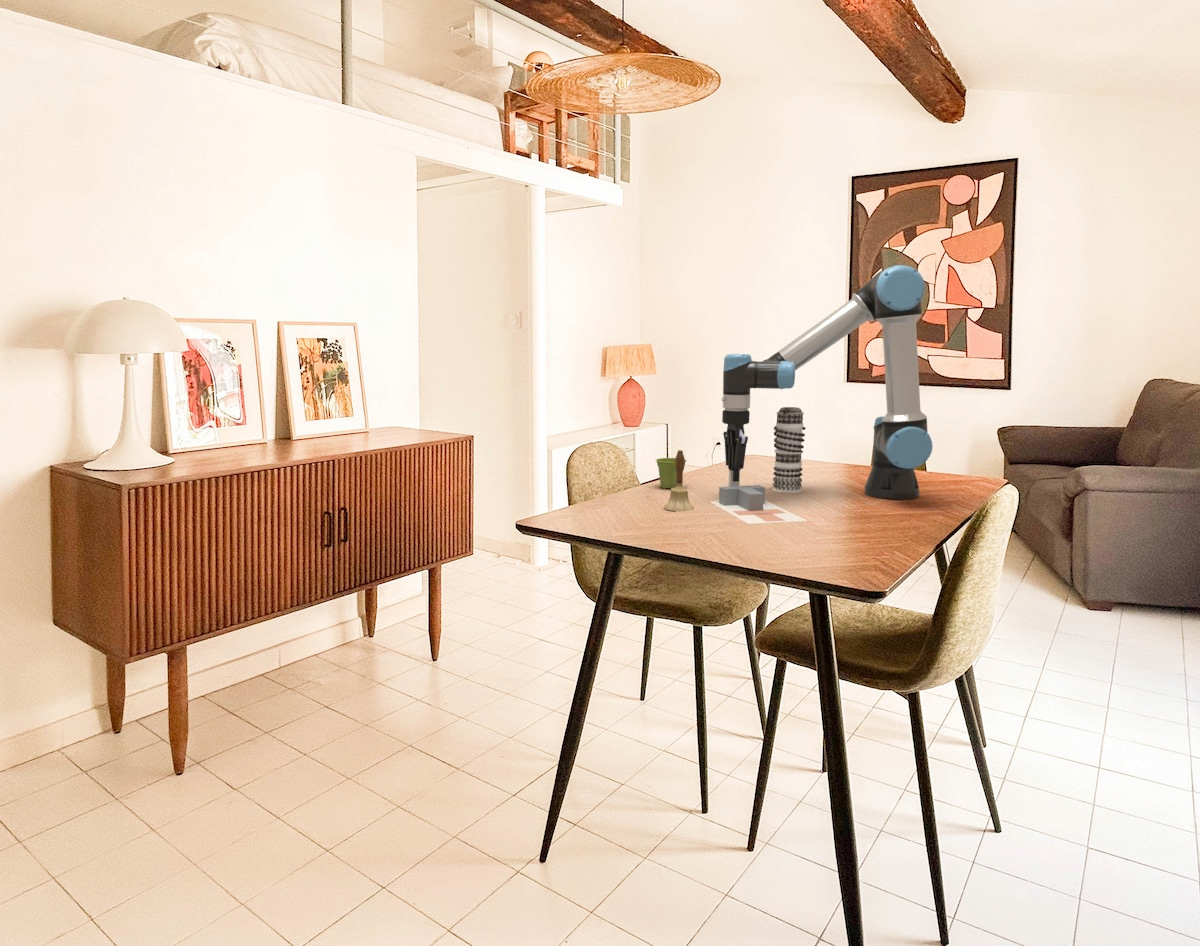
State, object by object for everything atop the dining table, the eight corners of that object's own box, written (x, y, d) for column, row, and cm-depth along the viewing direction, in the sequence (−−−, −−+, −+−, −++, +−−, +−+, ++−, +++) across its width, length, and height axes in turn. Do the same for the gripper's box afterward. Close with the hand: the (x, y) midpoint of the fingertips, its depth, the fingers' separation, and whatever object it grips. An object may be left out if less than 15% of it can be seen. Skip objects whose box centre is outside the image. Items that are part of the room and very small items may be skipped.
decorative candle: (778, 486, 258) (781, 405, 254) (807, 489, 253) (811, 407, 249) (766, 490, 251) (769, 408, 247) (795, 494, 245) (798, 409, 241)
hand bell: (700, 508, 226) (701, 450, 223) (681, 513, 220) (682, 453, 217) (676, 504, 232) (676, 447, 229) (657, 508, 226) (657, 450, 223)
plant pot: (649, 486, 259) (650, 458, 257) (676, 483, 262) (676, 456, 261) (664, 491, 250) (665, 462, 249) (691, 488, 254) (692, 460, 253)
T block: (759, 500, 235) (759, 485, 234) (777, 509, 223) (777, 493, 223) (718, 502, 232) (719, 486, 232) (734, 511, 221) (735, 494, 220)
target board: (762, 499, 237) (762, 499, 237) (807, 521, 210) (807, 520, 210) (709, 502, 234) (709, 501, 234) (748, 524, 207) (748, 523, 207)
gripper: (715, 407, 239) (713, 488, 243) (731, 411, 226) (729, 497, 230) (740, 407, 241) (737, 487, 245) (757, 411, 228) (755, 495, 232)
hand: (733, 492), depth 237 cm, fingers closed
